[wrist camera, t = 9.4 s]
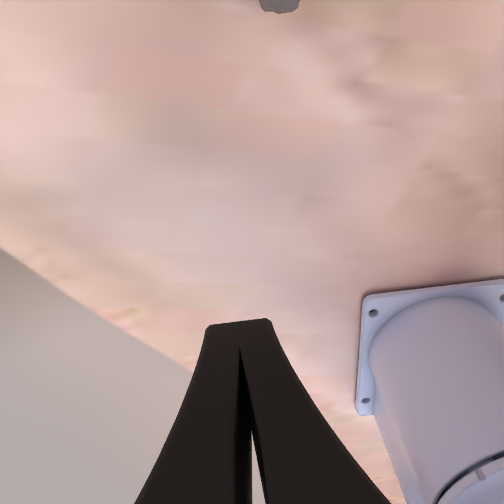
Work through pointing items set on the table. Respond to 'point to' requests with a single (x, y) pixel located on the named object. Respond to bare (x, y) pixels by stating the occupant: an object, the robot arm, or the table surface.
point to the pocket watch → (279, 5)
